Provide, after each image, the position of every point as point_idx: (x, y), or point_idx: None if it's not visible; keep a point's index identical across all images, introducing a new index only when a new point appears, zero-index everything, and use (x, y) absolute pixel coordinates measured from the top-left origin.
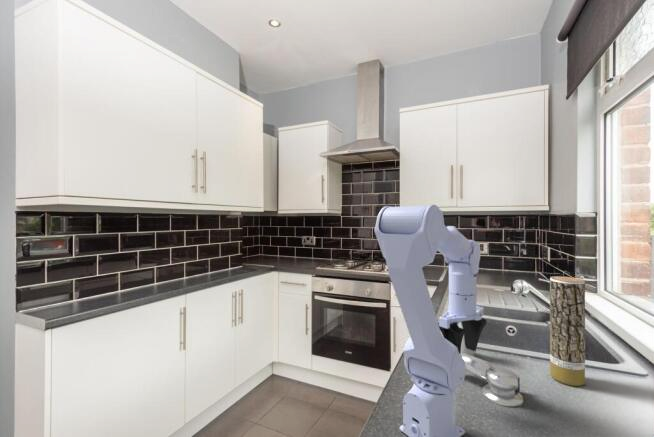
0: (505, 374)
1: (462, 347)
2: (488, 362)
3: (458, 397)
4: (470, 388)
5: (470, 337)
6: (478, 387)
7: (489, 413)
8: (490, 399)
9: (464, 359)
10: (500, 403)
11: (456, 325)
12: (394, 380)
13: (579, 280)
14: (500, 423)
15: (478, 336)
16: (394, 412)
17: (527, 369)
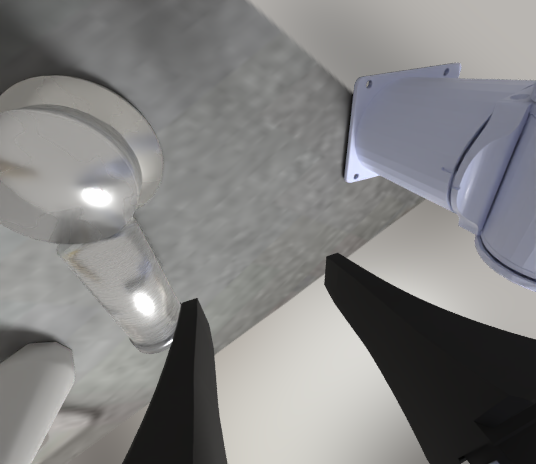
0: (41, 177)
1: (55, 379)
2: (84, 261)
3: (240, 201)
4: (171, 222)
5: (207, 378)
6: (140, 219)
7: (222, 106)
8: (161, 154)
9: (162, 302)
10: (145, 120)
11: (510, 445)
12: (307, 284)
13: None
14: (234, 48)
15: (175, 384)
16: (387, 205)
17: None
